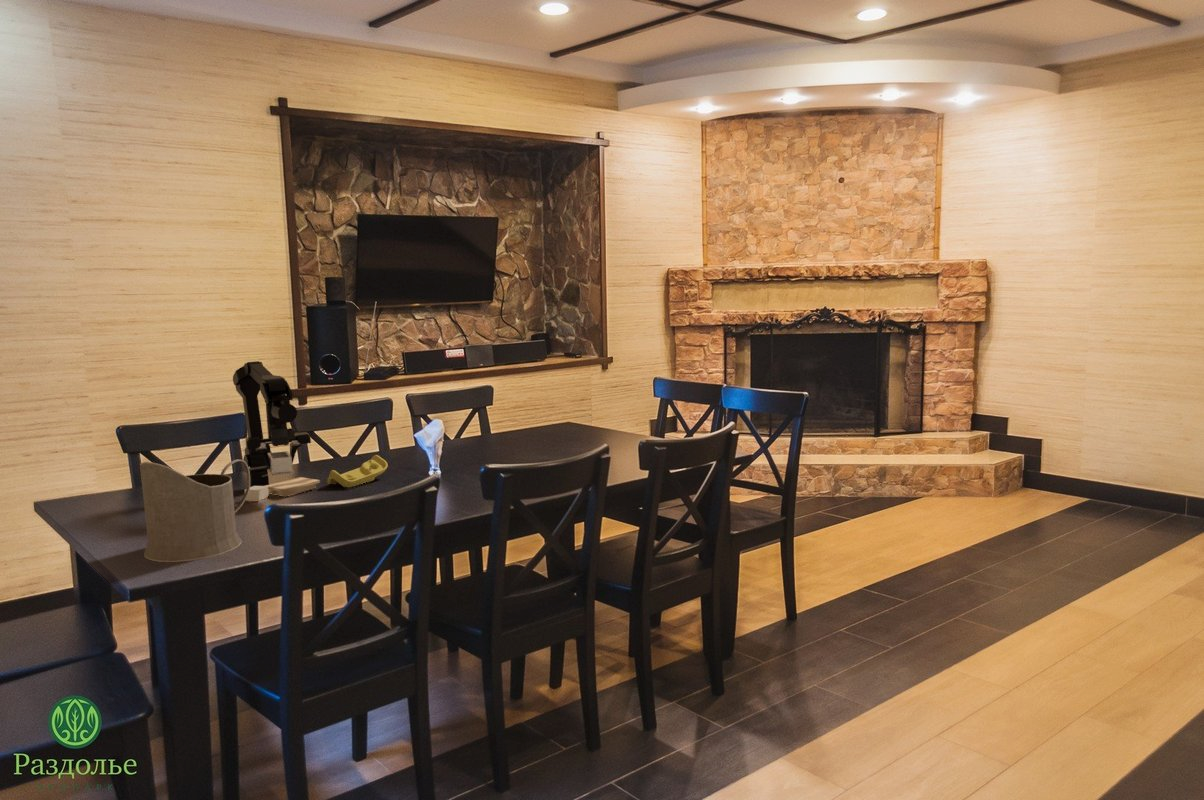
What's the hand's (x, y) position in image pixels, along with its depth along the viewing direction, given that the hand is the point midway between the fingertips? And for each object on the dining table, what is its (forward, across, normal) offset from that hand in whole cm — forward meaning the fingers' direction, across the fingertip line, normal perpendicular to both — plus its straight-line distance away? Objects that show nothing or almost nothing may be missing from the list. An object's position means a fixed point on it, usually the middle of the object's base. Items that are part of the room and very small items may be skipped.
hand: (280, 467), depth 282 cm
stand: (+11, +4, +10) cm, 15 cm away
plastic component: (+11, +26, +12) cm, 31 cm away
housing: (+1, 0, 0) cm, 1 cm away
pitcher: (+10, -23, -38) cm, 46 cm away
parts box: (+11, -7, +5) cm, 14 cm away
